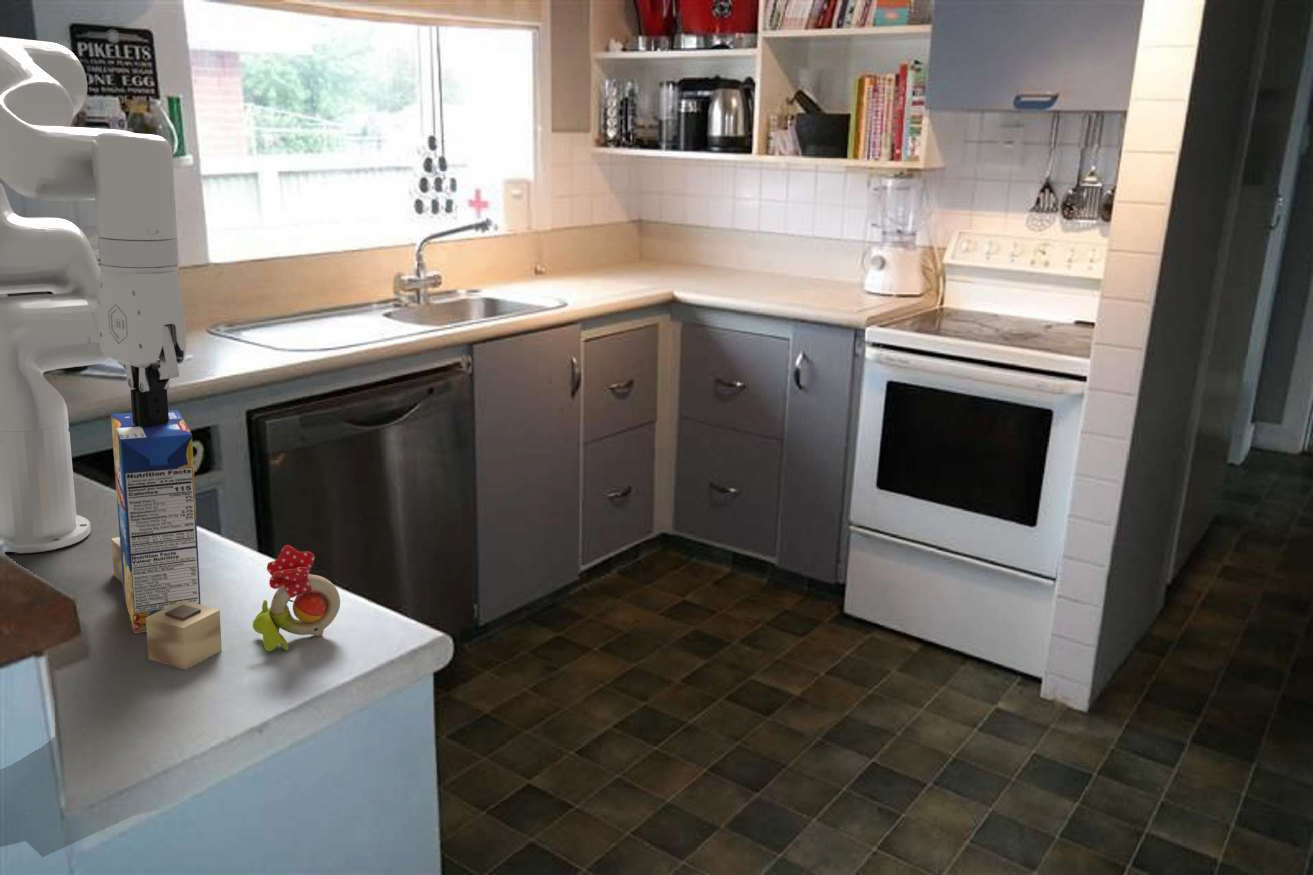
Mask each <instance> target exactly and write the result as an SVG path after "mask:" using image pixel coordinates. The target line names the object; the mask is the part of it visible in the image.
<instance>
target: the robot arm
mask: <svg viewBox="0 0 1313 875" xmlns="http://www.w3.org/2000/svg"><path fill="white" fill-rule="evenodd" d="M87 93H88V81H87V75H86V72H85V69H84V67H83V64H82V63H81V61H80V60H79V59H78V57H77V56H76V55H75V53H73V52H72V51H71V50H70V49H68V48H67V47H65V46H63V45H62V44H59V43H56V42H51V41H44V40H36V39H35V40H34V39H27V38H25V39H24V38H16V37H15V38H14V37H7V36H0V180H1V181H2V182H4V183H5V184H6V185H7V186H8V187H10V188H11V189H12V191H15V192H16V193H17V194H19V195H21V196H23V197H26V198H29V199H32V200H34V201H35V200H37V201H49V202H50V201H54V202H55V201H60V202H61V201H94V202H95V204H94V205H95V217H96V229H97V231H96V232H97V243H98V244H97V245H98V256H99V262H98V261H97V257H96V255H95V251H94V250H93V248H92V245H91V243H90V241H89V239H88V238H87V236H86V234H85V233H84V232H83V230H82V229H81V228H80V227H78V225H76V224H75V223H73V222H71V221H70V220H67V219H65V218H61V217H51V216H50V217H49V216H48V217H47V216H44V217H43V216H42V217H38V216H37V217H31V216H29V217H28V216H27V217H25V216H20V215H18V214H16V213H15V212H14V210H13V208H12V207H11V204H10V201H9V199H8V196H7V193H6V190H5V188H4V185H3V184H2V183H1V182H0V295H5V294H7V295H8V294H21V293H34V292H35V293H37V292H39V294H28V295H26V294H25V295H14V296H13V295H11V296H10V295H9V296H2V297H0V535H3V536H4V537H5V539H7V540H8V541H10V542H11V543H13V545H14V546H15V551H16V552H17V553H16V554H34V553H42V552H48V551H54V550H58V549H62V548H66V547H68V546H72V545H75V544H77V543H79V542H81V541H83V540H85V539H86V537H88V536H89V535H90V533H91V531H92V530H91V529H92V528H91V527H92V526H91V522H90V521H89V519H87V518H86V517H84V516H82V515H79V514H77V508H76V496H75V495H76V494H75V483H74V470H73V460H72V459H73V458H72V448H71V446H72V445H71V435H70V434H71V433H70V425H69V424H70V423H69V414H68V406H67V403H66V400H65V399H64V397H63V396H62V394H61V393H60V392H59V391H58V390H57V389H56V388H55V387H54V386H53V385H52V384H50V382H49V381H47V379H46V378H45V376H44V373H45V372H48V371H55V370H60V369H68V368H75V367H76V368H77V367H85V366H92V365H98V364H99V365H100V364H103V363H106V362H108V361H110V360H114V361H117V363H118V364H119V365H120V366H122V367H123V368H124V370H125V374H126V380H127V385H128V388H129V389H130V400H131V402H130V403H131V413H132V417H133V424H134V425H137V426H140V427H142V428H146V427H152V426H157V425H163V424H167V423H168V422H169V414H168V410H169V402H168V401H169V400H168V389H169V388H170V379H176V378H179V377H180V370H179V366H178V364H181V363H183V362H184V361H185V360H186V357H187V332H186V331H187V329H186V322H185V321H186V320H185V312H184V304H183V296H182V292H181V285H180V280H179V276H178V271H179V270H180V257H179V243H178V242H179V239H178V224H177V208H176V206H177V205H176V192H175V189H176V188H175V175H174V159H173V150H172V145H171V144H170V143H169V141H168V140H167V139H166V138H164V137H163V136H161V135H156V134H150V133H136V132H132V131H128V130H122V129H115V128H114V129H112V128H111V129H110V128H94V127H93V128H92V127H79V126H78V127H77V126H72V123H73V119H74V118H75V116H77V114H78V113H79V112H80V111H81V109H82V107H83V106H84V103H85V101H86V98H87ZM98 263H99V264H98ZM40 292H51V293H49V294H48V293H47V294H46V293H45V294H41V293H40Z"/></svg>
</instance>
